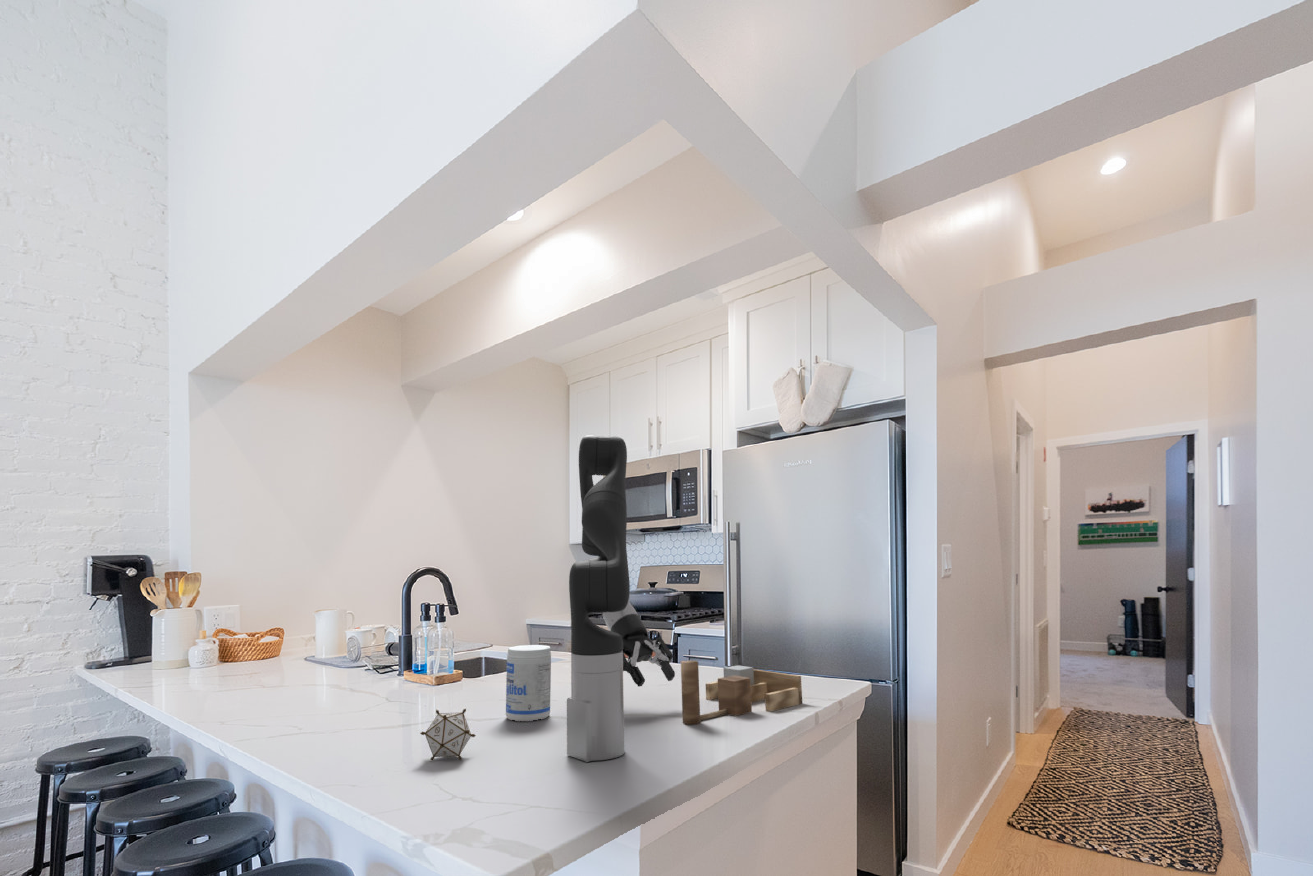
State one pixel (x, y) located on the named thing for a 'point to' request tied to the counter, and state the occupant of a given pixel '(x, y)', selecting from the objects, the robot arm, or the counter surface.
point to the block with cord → (730, 695)
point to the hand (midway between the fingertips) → (657, 681)
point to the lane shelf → (769, 689)
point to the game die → (448, 734)
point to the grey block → (740, 672)
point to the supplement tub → (528, 682)
